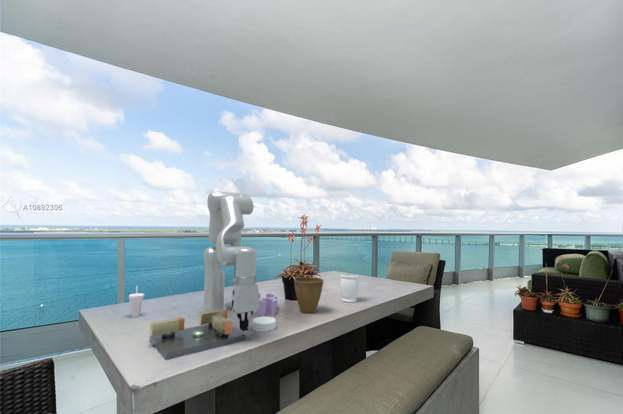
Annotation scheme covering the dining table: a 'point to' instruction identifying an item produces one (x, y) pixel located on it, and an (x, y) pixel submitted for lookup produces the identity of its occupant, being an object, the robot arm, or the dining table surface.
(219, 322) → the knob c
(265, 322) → the white round disc
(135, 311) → the smoothie
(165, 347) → the plate
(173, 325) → the olive and orange block
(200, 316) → the beige rectangular block
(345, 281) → the jar
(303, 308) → the plant pot
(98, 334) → the dining table surface
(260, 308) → the lavender lobed block
